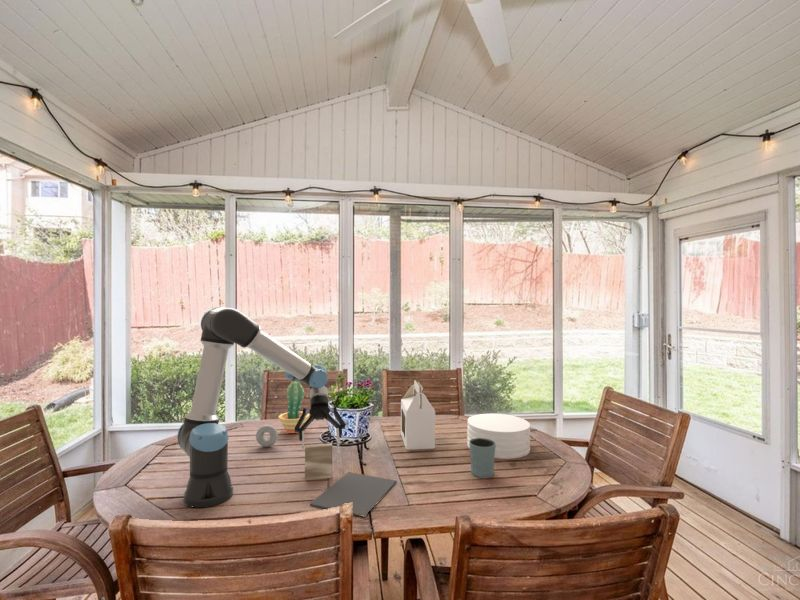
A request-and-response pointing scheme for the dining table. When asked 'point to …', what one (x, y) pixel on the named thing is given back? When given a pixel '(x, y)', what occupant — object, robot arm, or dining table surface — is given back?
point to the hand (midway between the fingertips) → (321, 446)
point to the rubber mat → (355, 492)
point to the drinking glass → (482, 457)
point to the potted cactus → (293, 407)
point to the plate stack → (501, 433)
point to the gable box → (417, 419)
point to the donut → (267, 442)
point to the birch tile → (318, 461)
